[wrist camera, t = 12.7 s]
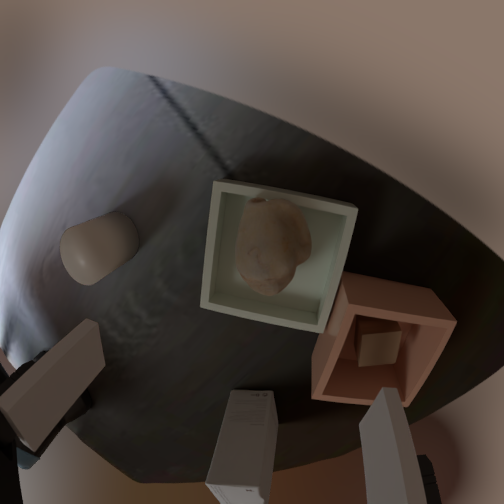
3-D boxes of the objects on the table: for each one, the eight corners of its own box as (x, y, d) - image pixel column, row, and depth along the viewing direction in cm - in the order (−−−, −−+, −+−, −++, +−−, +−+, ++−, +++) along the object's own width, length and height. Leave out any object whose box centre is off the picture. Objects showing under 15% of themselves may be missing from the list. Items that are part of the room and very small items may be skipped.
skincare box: (231, 388, 35) (199, 480, 21) (276, 388, 34) (259, 487, 20) (241, 424, 38) (218, 506, 24) (281, 426, 36) (267, 512, 22)
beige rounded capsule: (99, 255, 32) (62, 277, 26) (98, 208, 30) (58, 222, 24) (138, 266, 31) (104, 292, 25) (139, 216, 29) (101, 232, 23)
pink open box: (311, 355, 31) (311, 398, 25) (338, 270, 28) (348, 303, 21) (394, 367, 30) (407, 406, 24) (430, 288, 26) (457, 321, 20)
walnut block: (353, 343, 29) (358, 366, 26) (356, 313, 28) (362, 334, 24) (387, 341, 29) (395, 362, 25) (391, 310, 27) (401, 330, 24)
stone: (235, 218, 29) (249, 298, 28) (215, 202, 22) (232, 304, 21) (302, 203, 27) (319, 285, 26) (300, 182, 21) (322, 287, 20)
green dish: (208, 293, 31) (200, 307, 28) (222, 178, 27) (213, 180, 24) (321, 317, 30) (322, 333, 27) (352, 203, 25) (358, 208, 23)
